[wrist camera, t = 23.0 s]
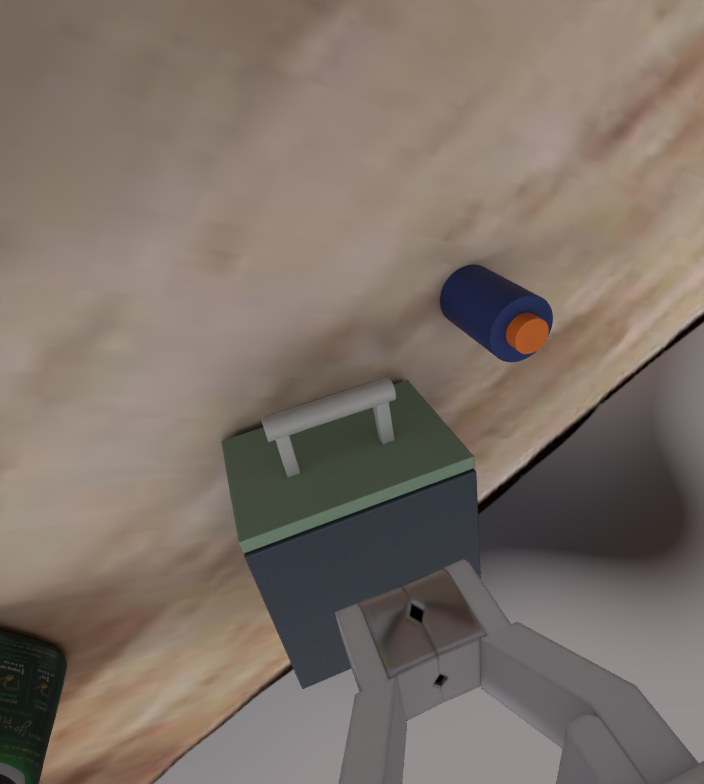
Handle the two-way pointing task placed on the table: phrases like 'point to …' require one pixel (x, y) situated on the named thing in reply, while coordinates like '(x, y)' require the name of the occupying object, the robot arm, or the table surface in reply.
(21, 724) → the coffee jar
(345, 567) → the drawer unit
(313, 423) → the drawer
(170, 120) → the table surface
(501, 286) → the glue bottle
